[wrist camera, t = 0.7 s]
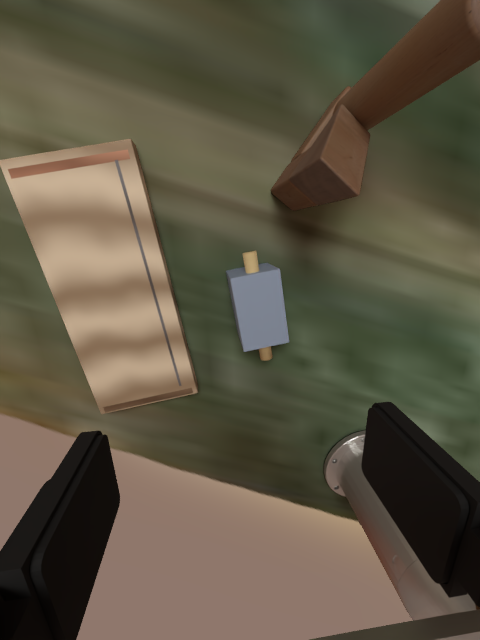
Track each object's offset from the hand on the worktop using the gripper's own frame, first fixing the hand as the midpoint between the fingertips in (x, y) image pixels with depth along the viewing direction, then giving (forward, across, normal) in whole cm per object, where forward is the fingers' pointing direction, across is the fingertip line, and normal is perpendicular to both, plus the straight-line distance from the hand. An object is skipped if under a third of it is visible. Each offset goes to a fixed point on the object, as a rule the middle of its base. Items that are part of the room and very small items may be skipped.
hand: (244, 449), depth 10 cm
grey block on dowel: (+25, -4, 0) cm, 25 cm away
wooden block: (+25, -11, -15) cm, 31 cm away
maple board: (+25, +11, -1) cm, 27 cm away
